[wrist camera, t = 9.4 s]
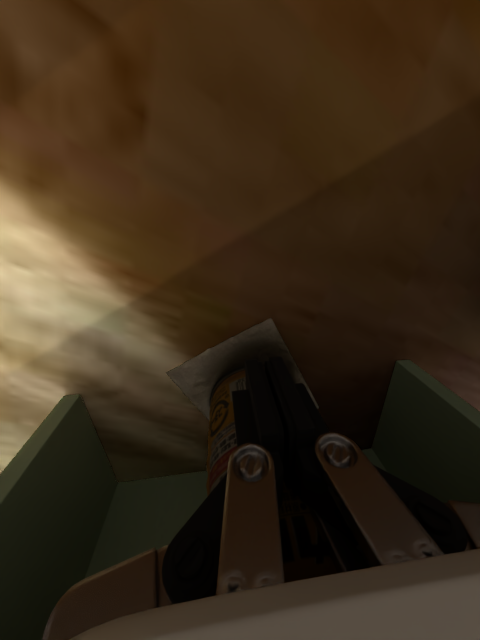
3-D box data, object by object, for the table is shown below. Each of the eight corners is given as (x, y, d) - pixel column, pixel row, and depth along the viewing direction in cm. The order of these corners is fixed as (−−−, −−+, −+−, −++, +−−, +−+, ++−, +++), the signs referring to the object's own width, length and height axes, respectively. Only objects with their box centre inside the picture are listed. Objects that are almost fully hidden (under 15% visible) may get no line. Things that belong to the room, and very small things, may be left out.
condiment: (232, 446, 18) (263, 794, 7) (166, 371, 15) (35, 825, 4) (318, 405, 17) (497, 728, 6) (269, 315, 14) (482, 690, 3)
